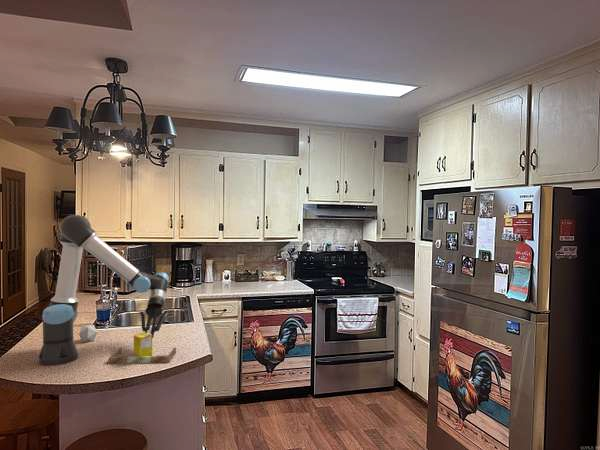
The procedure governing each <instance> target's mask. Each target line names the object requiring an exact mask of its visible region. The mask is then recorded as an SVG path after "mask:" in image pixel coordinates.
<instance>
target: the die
mask: <svg viewBox="0 0 600 450" xmlns="http://www.w3.org/2000/svg"><path fill="white" fill-rule="evenodd" d="M97 334H98V331H97V329H96V327H95V325H94V324H90V325H89V324H88V325H82V326H81V328H80V331H79V333H78V335H79V338H80V340H81V342H82V343H88V342H94V341H95V339H96V336H97Z"/></svg>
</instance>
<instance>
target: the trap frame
mask: <svg viewBox="0 0 600 450" xmlns="http://www.w3.org/2000/svg"><path fill="white" fill-rule="evenodd" d="M176 354H177V347H173V349H172V350H171V351H170V352H169V354H168V355H155V356H153V355H152V356H140V357H134V355H122V348H120V347H119V348H118V349H117V350H115V352H113V353H112V354H110V356H109V357H107V358H108V363H107V364H146V363H147V364H154V363H156V364H157V363H160V364H161V363H167V364H168V363H170V362H171V361H172V359H173V358H174V357H175V356H176Z"/></svg>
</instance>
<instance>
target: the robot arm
mask: <svg viewBox="0 0 600 450" xmlns="http://www.w3.org/2000/svg"><path fill="white" fill-rule="evenodd" d="M59 232H60V239H59V243H60V244H61V245H62V248H61V249H62V250H61V255H60V261H59V269H58V275H57V280H56V281H57V282H56V287H55V294H54V296H53V297H52V298H51V299H50V302H49V306H47V307H46V308H44V309H43V311H42V315H41V316H42V317H41V318H42V345H41V349H40V352H39V354H38V364H39V365H43V366H57V365H64V364H67V363H70V362H73V361H75V360H76V359H77V358H79V356H78V355H79V351H78V349H77V346H76V343H75V342H74V341H75V340H74V324H75V321H76V319H77V317H78V305H79V299H78V298H77V290H78V284H79V276H80V271H81V265H82V264H81V262H82V258H83V252H84V250H86V251H87V252H88V253H90V254H91V255H92V256H93V257H95V258H96V259H97V260H98V261H100V262H101V263H102V264H103V265H105V266H106V267H107V268H109V270H111V271H112V272H113V273H114V274H116V275H117V276H119V277H120V278H121V279H122V280H123V281H125V282H126V283H127V285H129V286H130V287H132V288H133V289H134V291H136V292H137V293H146V292H148V291H149V290H150V293H149V298H148V303H147V306H146V309H145V310H144V311H140V312H139V314H140V316H141V319H140V320H141V330H142V332H144V333H145V332H146V333H149V334H152V339H154V336H155V332H159V331H160V329H161V328H162V324H163V322H164V321H165V318H166V317H168V311H166V310H165V311H164V306H165V302H166V301H165V300H166V297H167V296H166V295H167V291H168V286H169V282H170V277H169V275H168V274H167V273H166V272H156V273H155V274H149V273H147V272H142V271H140V270H139V268H136V267H135V266H134V265H133V264H131V262H129V261H128V260H127V259H125V258H124V257H123V256H122V255H120V253H118V252H117V251H116V250H115V249H113V247H111V246H110V245H108V244H107V243H106V242H105V241H104V240H102V239H101V238H100V237H99V236H98V235H97V232H96V231H95V230H94V228H92V227H91V223H90V221H89V219H88V218H87V217H85V216H83V215H80V214H72V215H68V216H66V217H64V218H63V219H62V221H61V222H60V226H59ZM146 315H147V321H146ZM159 317H160V318H159Z"/></svg>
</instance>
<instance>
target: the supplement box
mask: <svg viewBox="0 0 600 450" xmlns="http://www.w3.org/2000/svg"><path fill="white" fill-rule="evenodd" d="M133 356H134V357H140V356H153V338H152V334H149V333H146V332H145V331H144V332H142V333H138V334H133Z"/></svg>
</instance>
